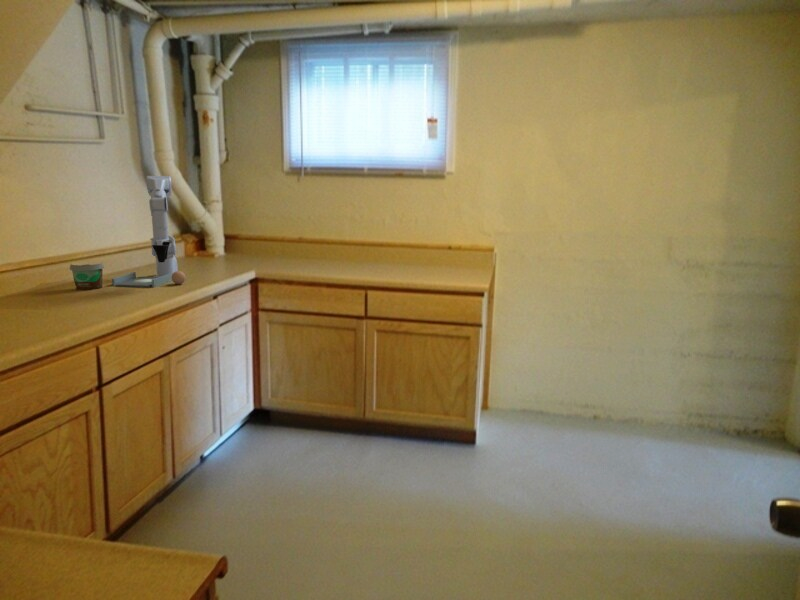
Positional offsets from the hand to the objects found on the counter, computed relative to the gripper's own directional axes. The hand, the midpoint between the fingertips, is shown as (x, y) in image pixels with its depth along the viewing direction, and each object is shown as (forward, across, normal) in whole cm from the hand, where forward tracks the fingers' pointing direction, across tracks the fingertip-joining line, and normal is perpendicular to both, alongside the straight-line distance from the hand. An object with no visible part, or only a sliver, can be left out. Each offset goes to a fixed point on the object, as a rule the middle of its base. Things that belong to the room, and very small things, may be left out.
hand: (162, 260), depth 237 cm
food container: (+10, +2, -28) cm, 30 cm away
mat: (+10, -8, -9) cm, 16 cm away
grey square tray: (+10, -8, -9) cm, 16 cm away
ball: (+8, -2, +5) cm, 9 cm away
